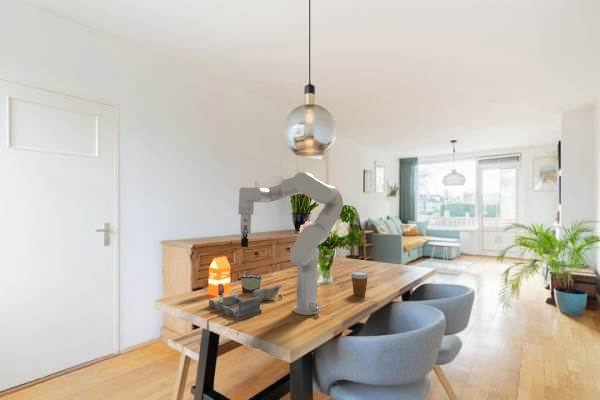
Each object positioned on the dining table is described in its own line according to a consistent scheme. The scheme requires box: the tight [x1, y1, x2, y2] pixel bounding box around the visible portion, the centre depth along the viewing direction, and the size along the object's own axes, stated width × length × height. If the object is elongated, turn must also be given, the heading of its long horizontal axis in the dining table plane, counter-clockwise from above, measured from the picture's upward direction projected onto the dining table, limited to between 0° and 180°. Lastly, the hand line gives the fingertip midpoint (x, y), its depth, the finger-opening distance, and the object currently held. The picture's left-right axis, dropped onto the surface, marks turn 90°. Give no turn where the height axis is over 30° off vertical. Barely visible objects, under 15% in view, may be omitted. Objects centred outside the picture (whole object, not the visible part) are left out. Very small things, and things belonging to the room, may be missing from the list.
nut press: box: [208, 296, 263, 321], centre depth 142 cm, size 25×12×8 cm, turn 47°
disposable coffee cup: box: [350, 270, 369, 297], centre depth 167 cm, size 10×10×12 cm
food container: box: [239, 273, 263, 295], centre depth 170 cm, size 12×6×10 cm, turn 84°
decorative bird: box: [251, 284, 283, 301], centre depth 156 cm, size 5×16×8 cm, turn 108°
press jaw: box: [218, 283, 240, 306], centre depth 147 cm, size 10×9×8 cm
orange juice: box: [208, 256, 231, 298], centre depth 167 cm, size 8×9×20 cm
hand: (244, 245), depth 154 cm, fingers open, 9 cm apart
